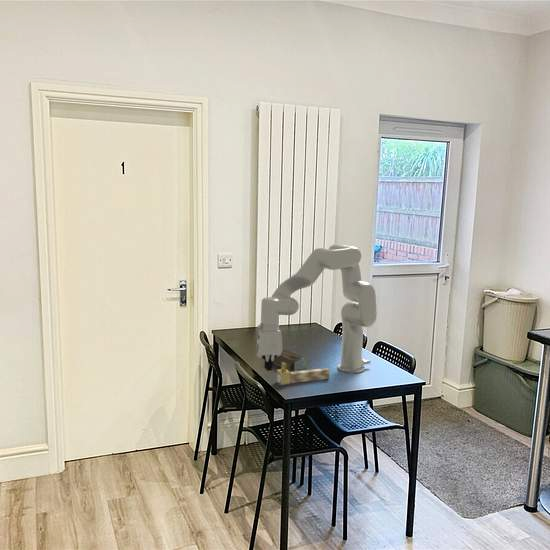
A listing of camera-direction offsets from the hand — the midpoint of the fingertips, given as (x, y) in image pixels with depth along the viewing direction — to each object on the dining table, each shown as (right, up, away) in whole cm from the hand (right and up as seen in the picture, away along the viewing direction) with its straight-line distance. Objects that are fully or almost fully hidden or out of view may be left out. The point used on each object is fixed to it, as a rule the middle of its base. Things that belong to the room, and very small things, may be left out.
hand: (268, 369), depth 230 cm
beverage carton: (+9, -4, +27) cm, 28 cm away
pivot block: (+6, -7, +4) cm, 10 cm away
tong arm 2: (+18, -6, +8) cm, 21 cm away
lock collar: (+6, -7, +4) cm, 10 cm away
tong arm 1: (+18, -6, +9) cm, 21 cm away
